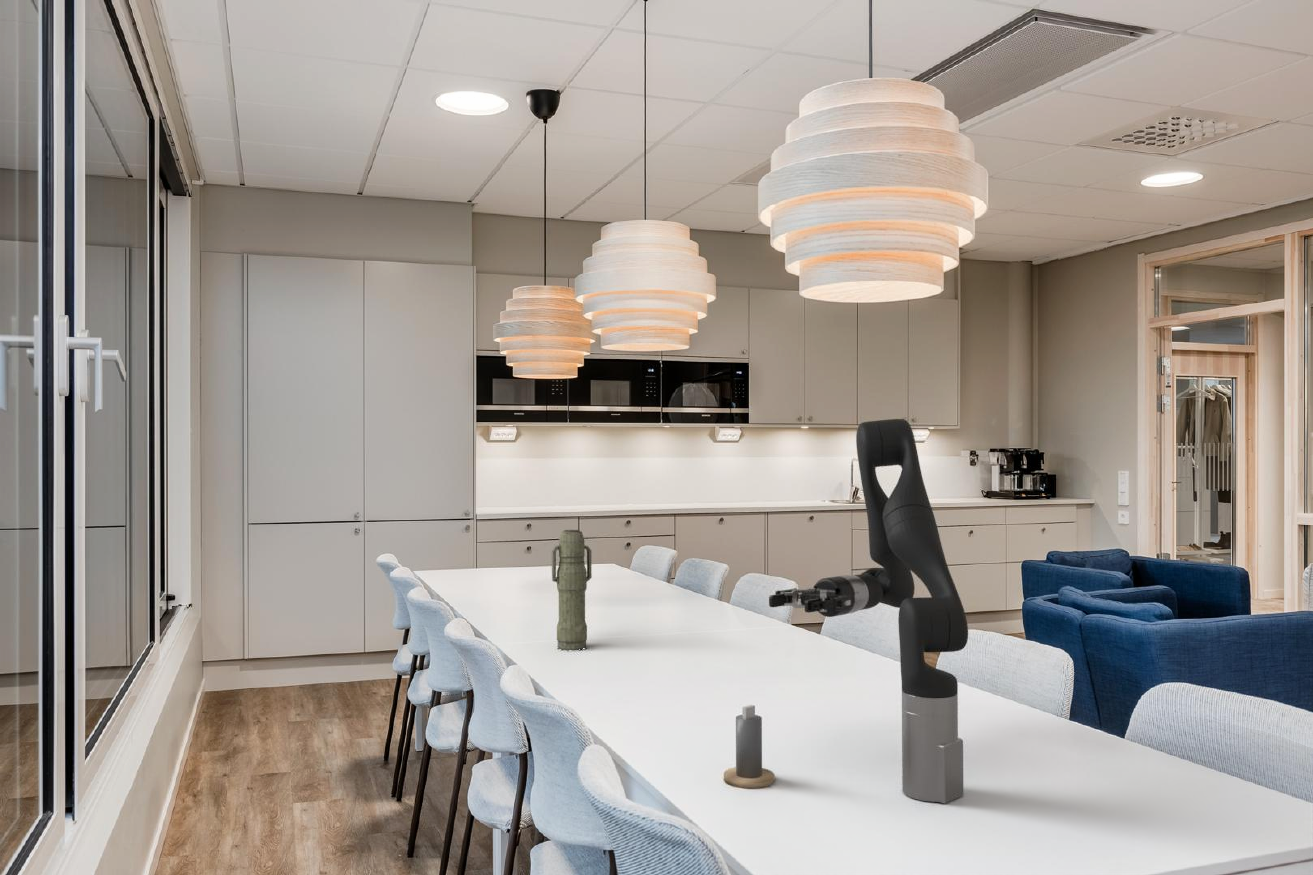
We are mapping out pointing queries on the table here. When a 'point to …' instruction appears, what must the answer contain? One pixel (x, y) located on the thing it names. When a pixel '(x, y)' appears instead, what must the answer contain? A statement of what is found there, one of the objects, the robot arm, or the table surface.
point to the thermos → (571, 589)
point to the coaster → (749, 779)
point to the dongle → (749, 744)
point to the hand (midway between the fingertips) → (788, 604)
